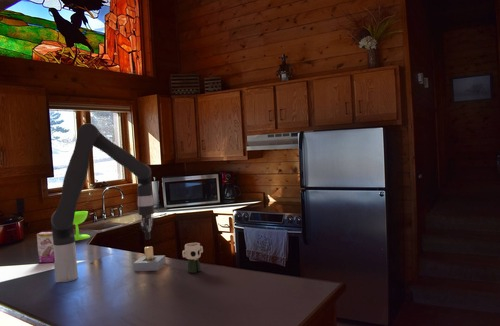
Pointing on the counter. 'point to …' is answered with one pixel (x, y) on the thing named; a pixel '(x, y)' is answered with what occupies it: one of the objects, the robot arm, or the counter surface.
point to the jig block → (149, 264)
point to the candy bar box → (45, 247)
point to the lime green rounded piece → (78, 219)
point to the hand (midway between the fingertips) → (147, 239)
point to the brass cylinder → (149, 253)
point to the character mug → (193, 256)
